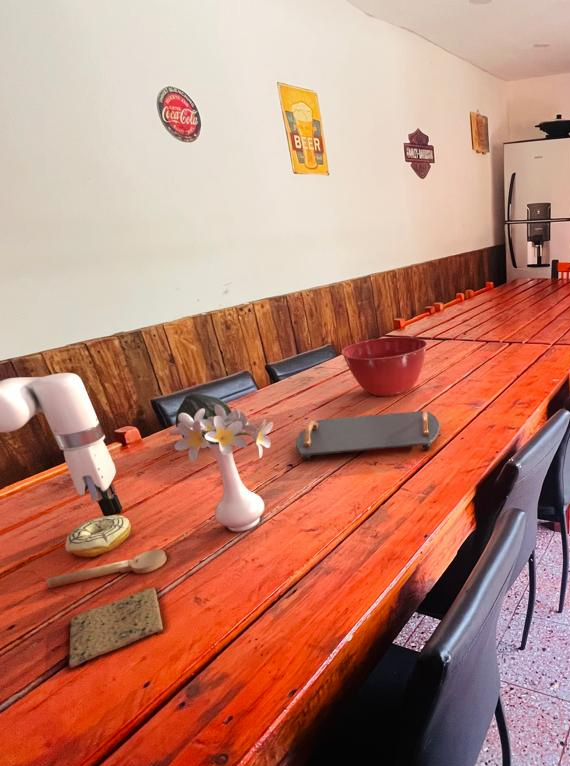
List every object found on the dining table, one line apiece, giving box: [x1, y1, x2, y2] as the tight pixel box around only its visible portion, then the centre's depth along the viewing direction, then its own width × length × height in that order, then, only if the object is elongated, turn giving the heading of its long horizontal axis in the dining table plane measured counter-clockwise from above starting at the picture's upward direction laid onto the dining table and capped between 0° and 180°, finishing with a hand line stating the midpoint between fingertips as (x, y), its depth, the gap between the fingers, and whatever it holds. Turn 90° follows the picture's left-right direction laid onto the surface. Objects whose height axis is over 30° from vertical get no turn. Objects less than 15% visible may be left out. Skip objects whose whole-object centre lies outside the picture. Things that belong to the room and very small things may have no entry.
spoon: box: [45, 548, 167, 589], centre depth 93 cm, size 19×6×2 cm, turn 111°
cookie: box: [68, 587, 163, 669], centre depth 81 cm, size 12×12×1 cm
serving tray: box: [295, 410, 441, 462], centre depth 139 cm, size 39×23×6 cm, turn 96°
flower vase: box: [169, 404, 274, 532], centre depth 101 cm, size 13×18×25 cm
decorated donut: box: [65, 514, 132, 558], centre depth 101 cm, size 10×11×4 cm
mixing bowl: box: [341, 336, 428, 397], centre depth 174 cm, size 28×28×15 cm
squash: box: [175, 393, 233, 442], centre depth 144 cm, size 14×15×15 cm
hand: (113, 513), depth 109 cm, fingers closed
